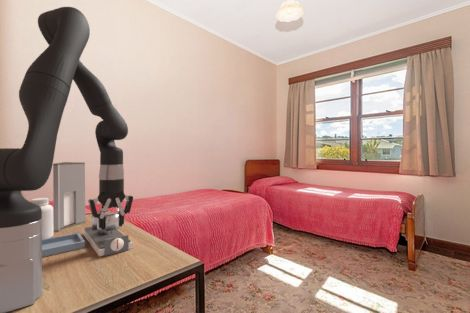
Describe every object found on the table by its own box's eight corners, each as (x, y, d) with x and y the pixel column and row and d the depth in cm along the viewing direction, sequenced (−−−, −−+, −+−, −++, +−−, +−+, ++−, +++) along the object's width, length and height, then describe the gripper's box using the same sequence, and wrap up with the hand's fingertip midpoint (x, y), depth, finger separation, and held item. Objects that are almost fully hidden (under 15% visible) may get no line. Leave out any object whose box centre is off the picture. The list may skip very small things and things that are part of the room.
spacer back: (107, 227, 96) (107, 215, 96) (93, 230, 93) (93, 217, 93) (104, 224, 100) (104, 212, 100) (90, 227, 96) (90, 214, 96)
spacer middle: (114, 233, 89) (113, 219, 89) (98, 236, 86) (98, 222, 86) (110, 230, 93) (110, 217, 93) (95, 232, 90) (95, 219, 90)
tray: (85, 247, 82) (85, 241, 82) (39, 257, 74) (39, 250, 74) (79, 238, 91) (79, 232, 91) (38, 246, 83) (38, 240, 83)
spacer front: (121, 228, 82) (121, 214, 82) (105, 231, 79) (105, 216, 79) (117, 225, 86) (117, 211, 86) (101, 228, 82) (101, 213, 82)
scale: (133, 249, 80) (133, 234, 80) (100, 257, 74) (100, 241, 74) (110, 228, 102) (110, 217, 102) (82, 233, 96) (82, 221, 96)
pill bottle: (22, 239, 89) (22, 199, 89) (47, 233, 96) (47, 196, 96) (32, 243, 86) (32, 201, 85) (57, 236, 93) (57, 197, 93)
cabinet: (65, 219, 117) (64, 162, 117) (88, 217, 121) (87, 161, 121) (53, 232, 98) (53, 163, 98) (81, 229, 102) (81, 163, 102)
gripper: (89, 179, 75) (89, 234, 75) (136, 177, 84) (136, 226, 84) (85, 178, 80) (85, 229, 80) (130, 176, 90) (130, 221, 90)
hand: (111, 227), depth 82 cm, fingers closed on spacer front, 5 cm apart
